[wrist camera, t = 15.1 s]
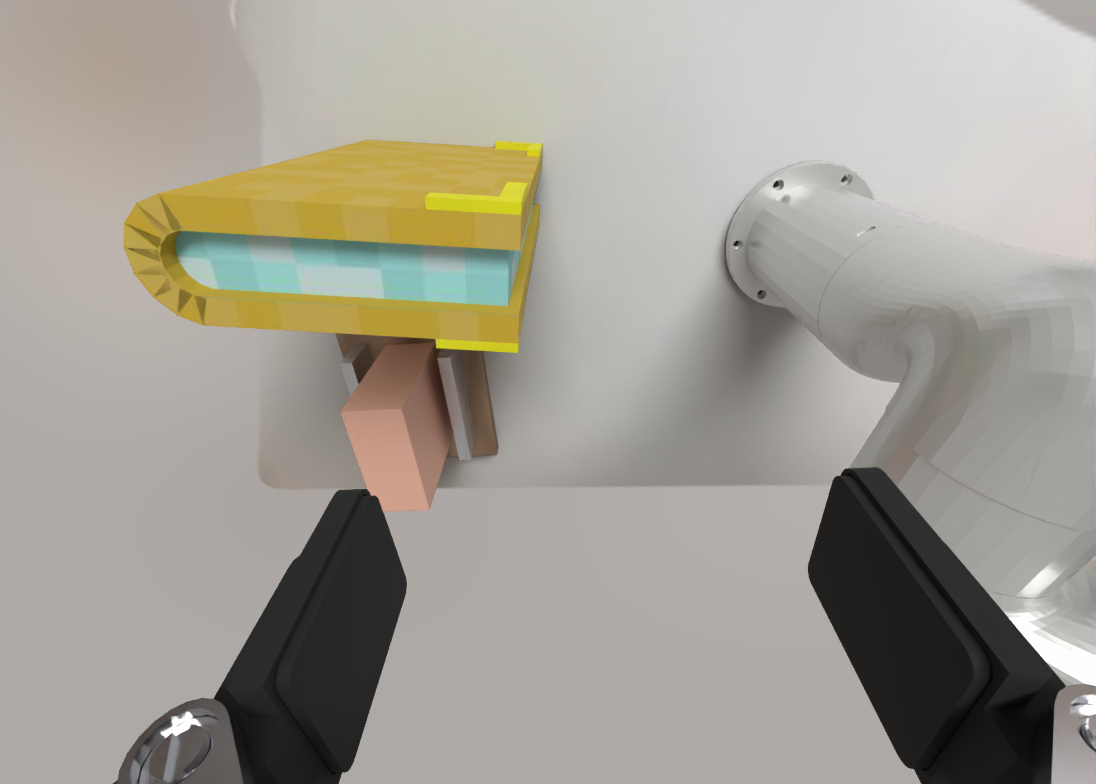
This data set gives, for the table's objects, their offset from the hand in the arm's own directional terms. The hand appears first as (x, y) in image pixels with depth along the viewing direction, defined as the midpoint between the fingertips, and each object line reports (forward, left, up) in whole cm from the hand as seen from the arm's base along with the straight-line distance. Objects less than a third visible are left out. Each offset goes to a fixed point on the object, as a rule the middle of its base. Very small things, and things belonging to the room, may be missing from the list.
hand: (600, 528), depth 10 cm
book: (+11, -2, -38) cm, 40 cm away
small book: (+17, +18, -37) cm, 44 cm away
